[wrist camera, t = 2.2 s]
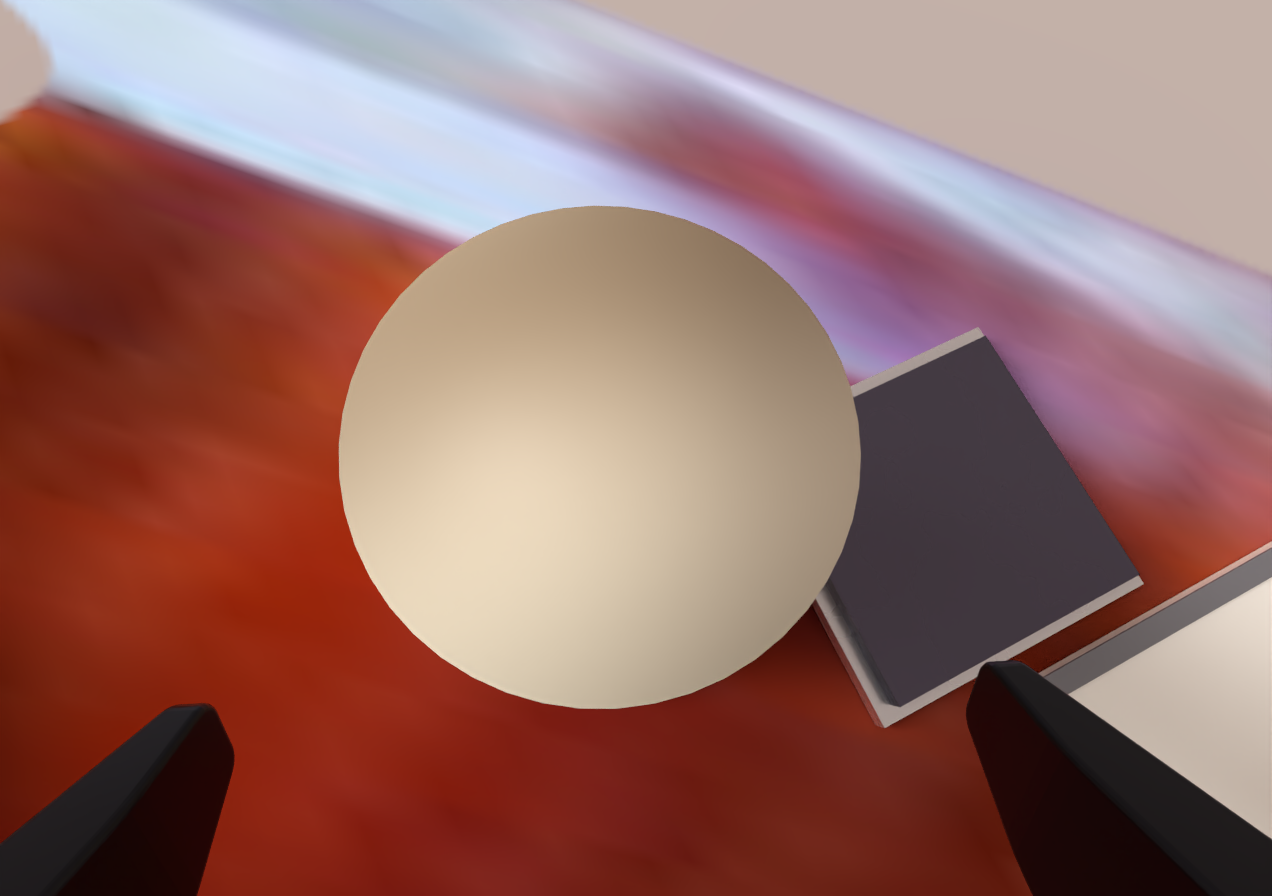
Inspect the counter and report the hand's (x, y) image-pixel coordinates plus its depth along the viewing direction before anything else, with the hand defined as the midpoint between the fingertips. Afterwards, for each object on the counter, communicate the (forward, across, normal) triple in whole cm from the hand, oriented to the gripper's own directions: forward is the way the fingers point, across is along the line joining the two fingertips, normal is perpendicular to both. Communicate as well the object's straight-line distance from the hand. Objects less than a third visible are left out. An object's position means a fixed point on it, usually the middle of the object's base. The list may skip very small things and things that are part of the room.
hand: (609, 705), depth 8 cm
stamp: (+9, 0, +5) cm, 10 cm away
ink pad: (+9, -9, +4) cm, 14 cm away
